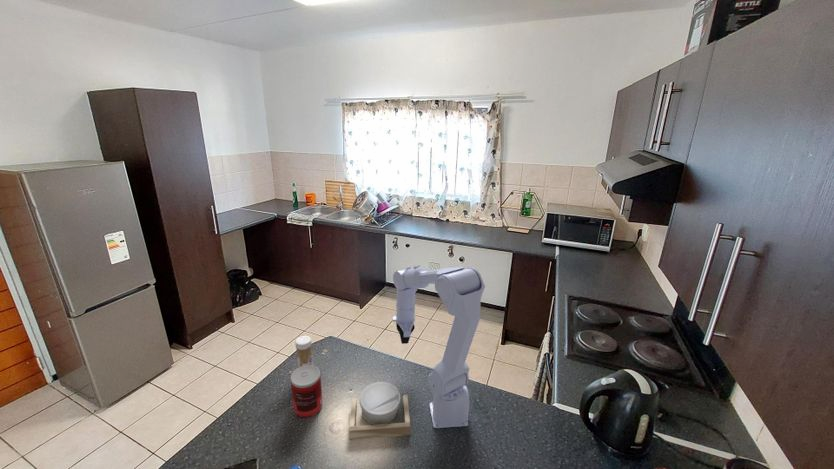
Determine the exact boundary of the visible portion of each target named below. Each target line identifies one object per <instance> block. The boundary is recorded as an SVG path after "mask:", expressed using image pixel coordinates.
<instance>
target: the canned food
mask: <svg viewBox="0 0 834 469" xmlns="http://www.w3.org/2000/svg"><path fill="white" fill-rule="evenodd" d="M321 378H322V377H321V371H320V368H318V367H317V366H315V365H314V364H313V365H305V366H301V367H299V368H298V367H297V368H296V369H295V370H293V372H292V373H291V375H290V388H291V396H292V404H293V409H294V412H295V414H296V415H297V416H299V417H301V418H311V417H313V416H314V415H317V413H319V412H320V410H321V408H322V407H323V406H322V405H323V392H322V380H321Z"/></svg>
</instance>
